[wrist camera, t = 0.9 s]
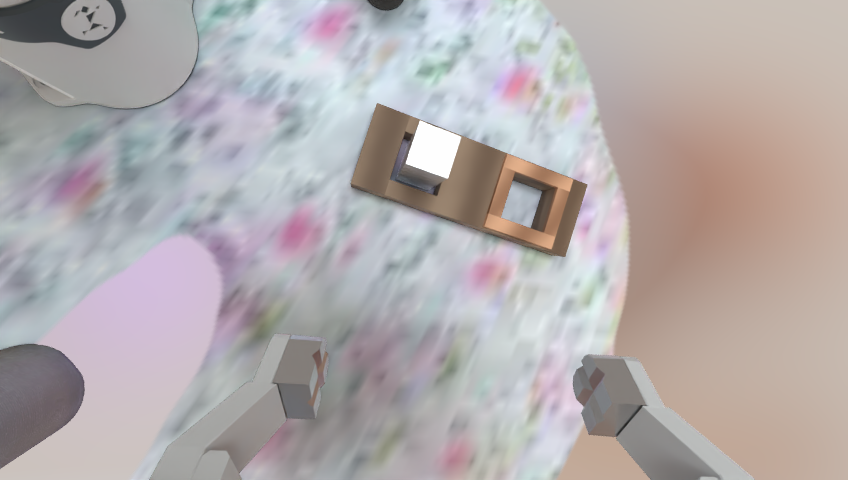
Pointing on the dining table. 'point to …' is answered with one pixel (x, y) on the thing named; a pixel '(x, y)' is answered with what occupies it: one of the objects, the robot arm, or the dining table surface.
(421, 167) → the steel post
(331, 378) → the dining table surface
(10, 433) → the pillar candle
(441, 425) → the dining table surface
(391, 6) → the sundae
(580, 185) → the walnut rail
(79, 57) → the robot arm
